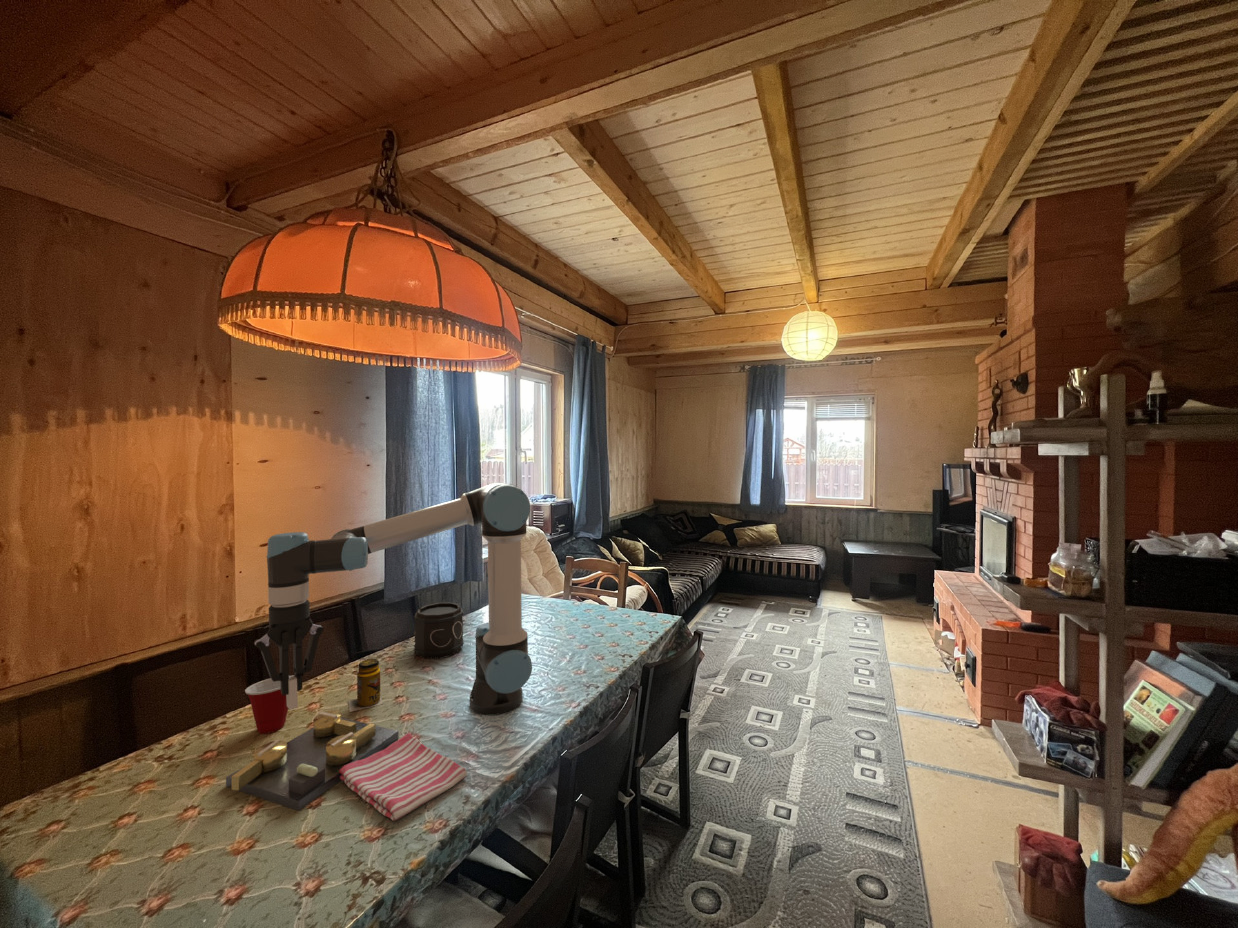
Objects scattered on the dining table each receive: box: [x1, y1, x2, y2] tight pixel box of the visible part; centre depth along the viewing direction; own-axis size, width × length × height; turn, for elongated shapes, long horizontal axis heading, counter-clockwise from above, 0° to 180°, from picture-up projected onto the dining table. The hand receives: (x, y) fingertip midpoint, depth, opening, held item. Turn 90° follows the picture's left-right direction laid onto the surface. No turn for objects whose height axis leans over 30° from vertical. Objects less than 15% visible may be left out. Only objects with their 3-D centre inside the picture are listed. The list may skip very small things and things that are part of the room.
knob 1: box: [231, 739, 288, 791], centre depth 102 cm, size 12×6×4 cm, turn 175°
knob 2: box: [312, 709, 356, 737], centre depth 118 cm, size 12×6×4 cm, turn 71°
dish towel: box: [339, 732, 468, 821], centre depth 103 cm, size 17×23×4 cm
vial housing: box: [289, 764, 325, 795], centre depth 99 cm, size 5×5×4 cm
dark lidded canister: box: [413, 602, 465, 660], centre depth 175 cm, size 18×18×16 cm
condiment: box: [347, 658, 384, 713], centre depth 137 cm, size 7×8×12 cm
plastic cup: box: [244, 677, 289, 735], centre depth 124 cm, size 11×11×12 cm
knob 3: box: [326, 723, 376, 765], centre depth 110 cm, size 12×6×4 cm, turn 161°
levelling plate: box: [225, 717, 399, 812], centre depth 110 cm, size 22×26×2 cm
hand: (292, 706), depth 105 cm, fingers closed
